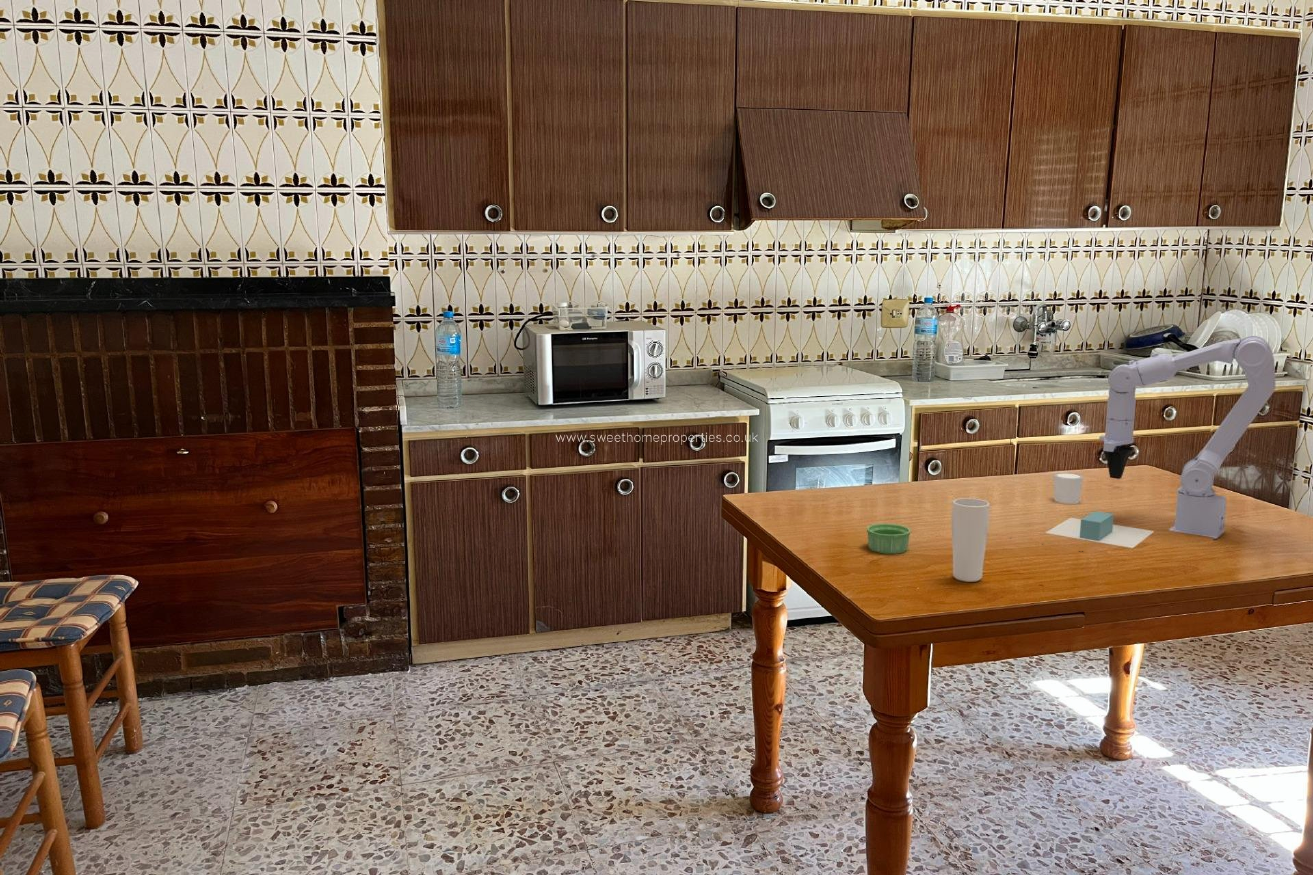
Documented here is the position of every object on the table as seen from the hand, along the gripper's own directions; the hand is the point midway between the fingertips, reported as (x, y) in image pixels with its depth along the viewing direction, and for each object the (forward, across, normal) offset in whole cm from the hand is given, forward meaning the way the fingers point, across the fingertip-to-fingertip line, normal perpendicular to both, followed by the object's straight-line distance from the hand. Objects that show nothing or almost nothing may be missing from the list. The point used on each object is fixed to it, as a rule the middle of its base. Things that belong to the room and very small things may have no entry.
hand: (1115, 477), depth 229 cm
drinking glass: (+11, +58, -9) cm, 60 cm away
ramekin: (+11, +50, -30) cm, 59 cm away
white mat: (+10, +12, +1) cm, 16 cm away
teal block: (+8, +10, +1) cm, 13 cm away
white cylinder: (+11, -11, -14) cm, 21 cm away
